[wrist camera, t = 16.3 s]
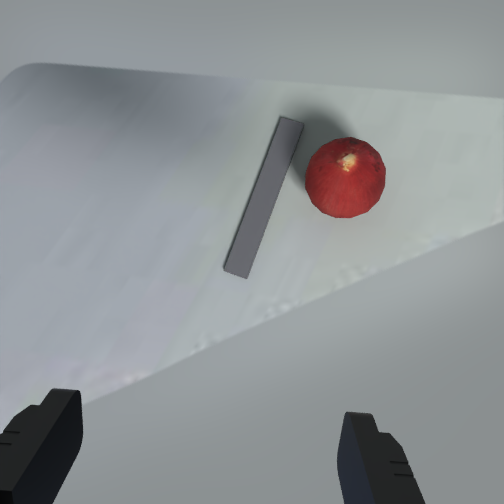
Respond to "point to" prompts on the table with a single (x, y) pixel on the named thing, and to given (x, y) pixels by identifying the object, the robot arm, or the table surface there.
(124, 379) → the table surface
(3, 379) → the table surface
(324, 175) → the onion
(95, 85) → the table surface
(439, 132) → the table surface
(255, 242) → the flat gray rectangular bar
